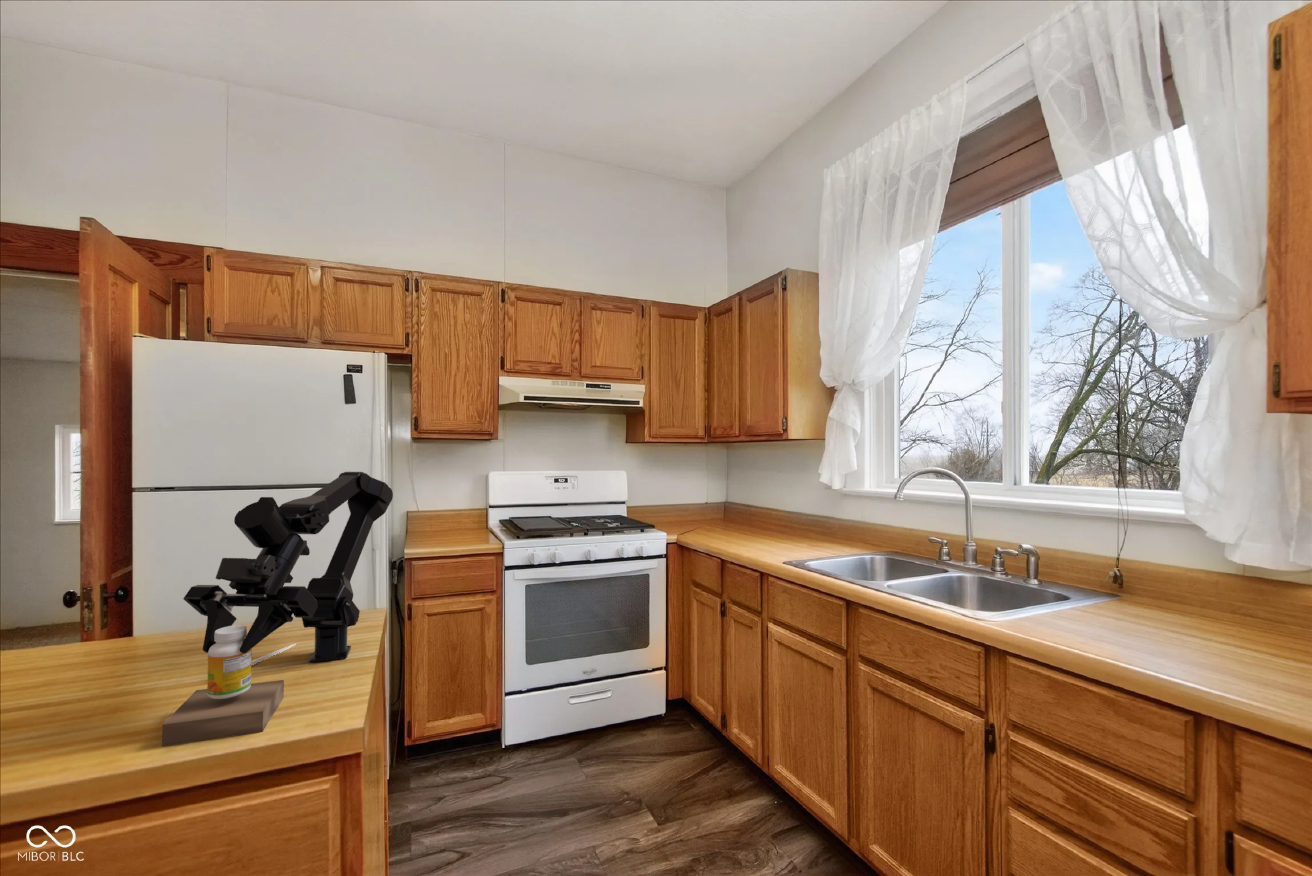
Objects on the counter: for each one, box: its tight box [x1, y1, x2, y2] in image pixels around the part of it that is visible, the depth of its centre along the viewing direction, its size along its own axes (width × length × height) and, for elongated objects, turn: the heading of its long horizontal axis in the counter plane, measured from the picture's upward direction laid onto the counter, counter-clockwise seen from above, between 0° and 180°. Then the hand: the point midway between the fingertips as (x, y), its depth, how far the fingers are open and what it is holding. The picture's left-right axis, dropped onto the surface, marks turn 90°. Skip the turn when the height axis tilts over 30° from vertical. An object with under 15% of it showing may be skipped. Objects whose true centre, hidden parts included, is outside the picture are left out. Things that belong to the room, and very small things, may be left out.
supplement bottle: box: [206, 624, 253, 699], centre depth 87 cm, size 5×5×10 cm
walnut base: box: [161, 679, 285, 747], centre depth 87 cm, size 12×12×3 cm
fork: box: [251, 643, 297, 666], centre depth 110 cm, size 3×20×2 cm, turn 176°
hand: (223, 651), depth 86 cm, fingers closed on supplement bottle, 5 cm apart
